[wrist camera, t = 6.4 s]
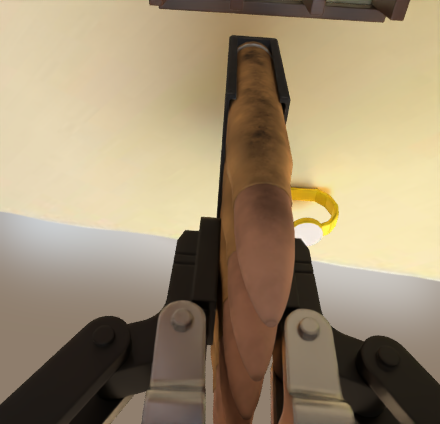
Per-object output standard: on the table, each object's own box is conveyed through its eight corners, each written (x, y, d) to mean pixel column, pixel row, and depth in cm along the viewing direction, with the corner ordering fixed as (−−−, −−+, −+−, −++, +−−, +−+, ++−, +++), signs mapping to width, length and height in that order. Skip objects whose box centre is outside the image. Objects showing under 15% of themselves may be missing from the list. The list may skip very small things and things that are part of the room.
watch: (334, 181, 35) (348, 223, 30) (328, 204, 37) (341, 247, 32) (270, 180, 35) (274, 221, 30) (267, 202, 37) (271, 245, 32)
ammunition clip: (247, 237, 21) (255, 498, 12) (215, 235, 21) (197, 494, 12) (277, 37, 14) (350, 290, 5) (229, 34, 14) (213, 281, 5)
